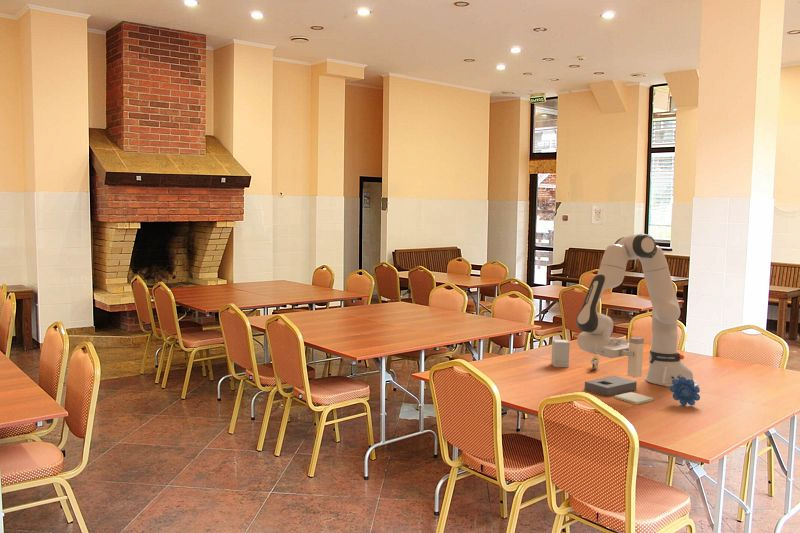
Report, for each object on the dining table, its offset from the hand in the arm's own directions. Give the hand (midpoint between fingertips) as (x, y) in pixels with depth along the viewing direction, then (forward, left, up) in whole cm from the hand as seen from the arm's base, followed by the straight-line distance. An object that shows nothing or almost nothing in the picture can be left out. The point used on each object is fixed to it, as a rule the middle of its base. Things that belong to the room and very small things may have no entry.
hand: (637, 353), depth 282 cm
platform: (+7, -51, -20) cm, 55 cm away
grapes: (-18, +6, -20) cm, 27 cm away
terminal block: (+7, -15, -19) cm, 25 cm away
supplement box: (+23, -56, -20) cm, 64 cm away
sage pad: (0, -1, -19) cm, 20 cm away
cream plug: (+1, -1, -9) cm, 10 cm away
